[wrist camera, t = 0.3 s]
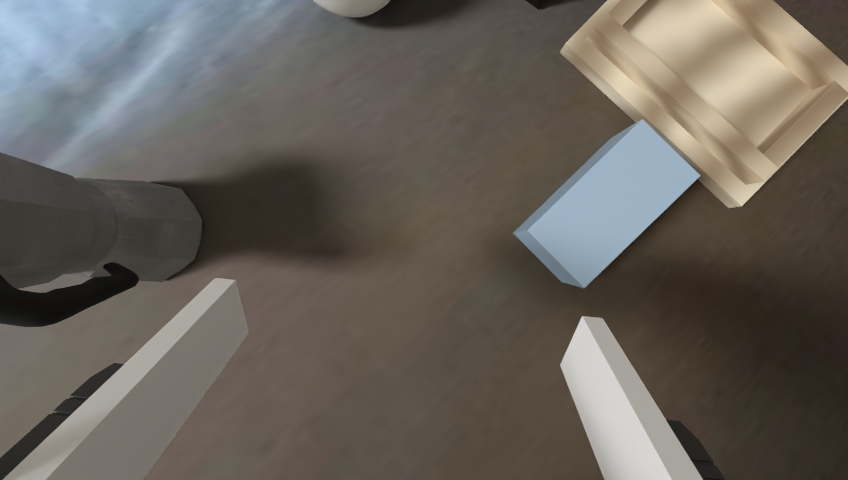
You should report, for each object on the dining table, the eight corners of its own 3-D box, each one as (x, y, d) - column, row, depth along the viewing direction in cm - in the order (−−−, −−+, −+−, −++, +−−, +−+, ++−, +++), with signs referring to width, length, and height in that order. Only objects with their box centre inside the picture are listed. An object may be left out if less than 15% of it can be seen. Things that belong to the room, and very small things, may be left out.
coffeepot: (71, 234, 29) (-503, 213, 11) (128, 149, 29) (-356, -5, 11) (205, 328, 29) (-178, 463, 11) (262, 242, 29) (-24, 233, 11)
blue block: (609, 139, 28) (642, 119, 24) (657, 187, 28) (700, 175, 24) (512, 233, 28) (527, 230, 24) (560, 281, 28) (584, 288, 24)
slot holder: (842, 91, 27) (887, 75, 25) (728, 207, 27) (760, 203, 25) (669, -61, 28) (694, -94, 26) (559, 52, 28) (572, 31, 26)
